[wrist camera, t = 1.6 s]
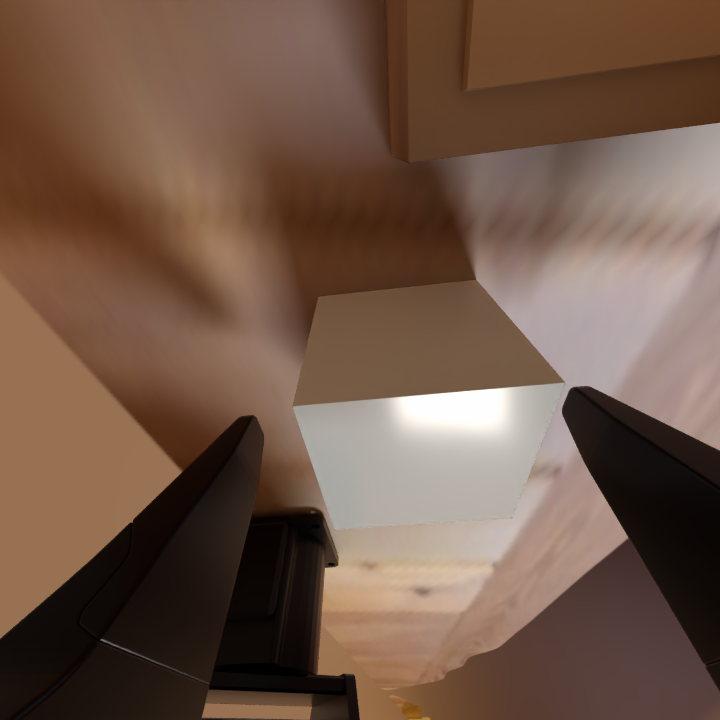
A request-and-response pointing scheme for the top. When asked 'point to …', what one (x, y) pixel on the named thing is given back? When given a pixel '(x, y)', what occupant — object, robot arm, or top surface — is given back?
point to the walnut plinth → (546, 72)
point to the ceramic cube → (421, 406)
